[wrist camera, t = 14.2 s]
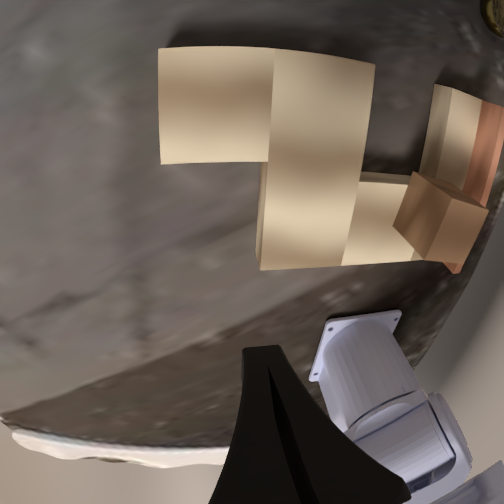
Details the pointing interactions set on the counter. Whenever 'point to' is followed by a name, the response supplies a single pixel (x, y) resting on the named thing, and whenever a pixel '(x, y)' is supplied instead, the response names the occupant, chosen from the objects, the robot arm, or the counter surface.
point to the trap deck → (315, 147)
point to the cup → (494, 16)
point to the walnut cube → (439, 219)
